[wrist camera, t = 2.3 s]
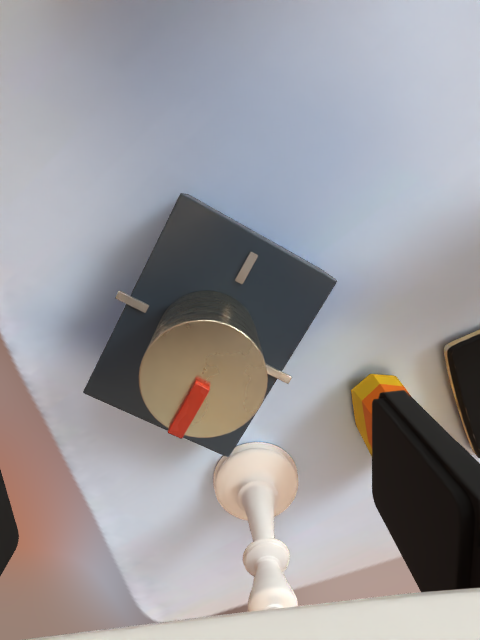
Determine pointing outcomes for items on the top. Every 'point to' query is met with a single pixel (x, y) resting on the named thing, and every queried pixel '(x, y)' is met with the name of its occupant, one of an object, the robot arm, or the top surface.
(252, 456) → the chess piece
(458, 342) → the smartphone
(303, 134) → the top surface
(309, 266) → the control panel
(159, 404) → the dial knob
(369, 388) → the candy corn
